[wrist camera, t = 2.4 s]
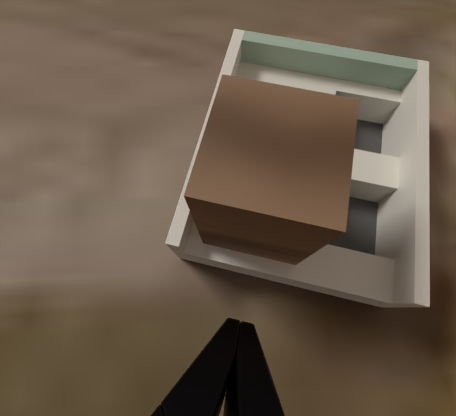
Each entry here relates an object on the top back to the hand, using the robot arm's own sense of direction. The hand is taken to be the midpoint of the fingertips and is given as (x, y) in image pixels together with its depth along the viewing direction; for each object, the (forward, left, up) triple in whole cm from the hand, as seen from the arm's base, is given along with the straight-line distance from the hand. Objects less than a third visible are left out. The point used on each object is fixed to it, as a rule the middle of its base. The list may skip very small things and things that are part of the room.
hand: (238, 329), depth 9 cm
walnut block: (+6, +4, -8) cm, 11 cm away
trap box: (+11, +5, -11) cm, 16 cm away
